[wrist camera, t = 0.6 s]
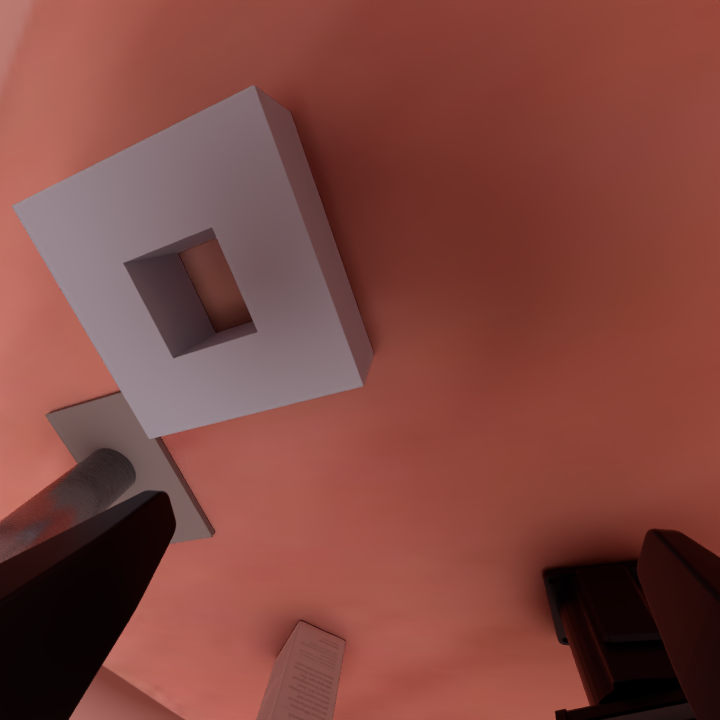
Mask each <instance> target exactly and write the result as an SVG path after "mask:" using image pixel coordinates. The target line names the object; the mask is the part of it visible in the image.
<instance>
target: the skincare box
mask: <svg viewBox="0 0 720 720" xmlns="http://www.w3.org/2000/svg"><path fill="white" fill-rule="evenodd" d="M344 650H345V641H344V640H343V639H341V638H338V637H336V636H334V635H331V634H329V633H327V632H325V631H322V630H320V629H318V628H316V627H314V626H312V625H310V624H307V623H305V622H302V621H299V622H298V624H297V626H296V627H295V629H294V630H293V632H292V634H291V635H290V637H289V639H288V640H287V642H286V644H285V645H284V647H283V648H282V650H281V652H280V653H279V655H278V657H277V658H276V660H275V662H274V665H273V669H272V672H271V675H270V678H269V681H268V684H267V688H266V691H265V694H264V697H263V700H262V703H261V707H260V710H259V713H258V716H257V719H256V720H333V716H334V710H335V704H336V698H337V692H338V686H339V680H340V674H341V668H342V662H343V656H344Z"/></svg>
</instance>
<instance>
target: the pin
mask: <svg viewBox="0 0 720 720" xmlns="http://www.w3.org/2000/svg"><path fill="white" fill-rule="evenodd" d="M135 480H136V472H135V469H134V467H133V465H132V463H131V462H130V461H129V460H128V459H127V458H126V457H125V456H124V455H123V454H121V453H119V452H118V451H115V450H112V449H108V448H102V449H98V450H96V451H94V452H93V453H92V454H90V455H89V456H88V457H86V458H85V459H84V460H82V461H81V462H80V463H78V464H77V465H76V466H74V467H73V468H71V469H70V470H69V471H67V472H66V473H65V474H63V475H62V476H61V477H59V478H58V479H57V480H55V481H54V482H53V483H51V484H50V485H49V486H47V487H46V488H44V489H43V490H42V491H40V492H39V493H38V494H36V495H35V496H34V497H32V498H31V499H30V500H28V501H27V502H26V503H24V504H23V505H21V506H20V507H19V508H17V509H16V510H15V511H13V512H12V513H11V514H9V515H8V516H7V517H5V518H4V519H3V520H1V521H0V563H1V562H3V561H5V560H7V559H9V558H11V557H13V556H15V555H17V554H19V553H21V552H23V551H25V550H27V549H29V548H31V547H33V546H35V545H37V544H39V543H41V542H43V541H45V540H47V539H49V538H51V537H53V536H55V535H57V534H59V533H61V532H63V531H65V530H67V529H69V528H71V527H73V526H75V525H77V524H79V523H81V522H83V521H85V520H87V519H89V518H91V517H93V516H95V515H97V514H99V513H101V512H103V511H105V510H107V509H108V508H109V507H110V506H111V505H112V504H113V503H114V502H115V501H116V500H117V499H118V498H120V497H121V496H122V495H123V494H124V493H125V492H126V491H127V490H128V489H129V488H130V487H131V486H132V485H133V484H134V482H135Z"/></svg>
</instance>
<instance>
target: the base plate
mask: <svg viewBox="0 0 720 720" xmlns="http://www.w3.org/2000/svg"><path fill="white" fill-rule="evenodd" d="M45 416H46V417H47V419H48V420H49V422H50V423H51V425H52V426H53V427H54V429H55V430H56V432H57V433H58V435H59V436H60V438H61V439H62V441H63V442H64V444H65V445H66V447H67V448H68V450H69V451H70V453H71V454H72V456H73V457H74V459H75V460H76V462H77V463H80V462H81V461H82V460H84V459H85V458H86V457H88V456H89V455H90V454H92V453H93V452H94V451H96V450H98V449H102V448H108V449H112V450H115V451H118V452H119V453H121V454H123V455H124V456H125V457H126V458H127V459H128V460H129V461H130V462H131V463H132V465H133V467H134V469H135V472H136V480H135V482H134V484H133V485H132V486H131V487H130V488H129V489H128V490H127V491H126V492H125V493H124V494H123V495H122V496H121V497H120V498H118V499H117V500H116V501H115V502H114V503H113V504H112V505H111V506H110V507H109V508H111V507H113V506H115V505H117V504H119V503H121V502H123V501H125V500H127V499H129V498H131V497H133V496H135V495H137V494H139V493H141V492H143V491H145V490H159V491H165V492H166V493H167V494H168V495H169V497H170V501H171V504H172V508H173V511H174V515H175V519H176V530H175V533H174V535H173V537H172V539H171V541H170V543H169V544H171V543H177V542H184V541H190V540H196V539H203V538H209V537H213V535H214V534H215V532H214V530H213V528H212V526H211V525H210V523H209V521H208V519H207V518H206V516H205V514H204V513H203V511H202V509H201V507H200V506H199V504H198V502H197V500H196V499H195V497H194V495H193V494H192V492H191V490H190V488H189V487H188V485H187V483H186V481H185V480H184V478H183V476H182V475H181V473H180V471H179V469H178V468H177V466H176V464H175V462H174V461H173V459H172V457H171V456H170V454H169V452H168V450H167V449H166V447H165V445H164V443H163V442H162V440H161V438H160V437H156V438H152V439H149V438H148V436H147V434H146V433H145V431H144V429H143V428H142V426H141V424H140V423H139V421H138V419H137V418H136V416H135V414H134V412H133V411H132V409H131V407H130V406H129V404H128V402H127V401H126V399H125V397H124V396H123V394H122V392H121V391H120V392H117V393H114V394H110V395H107V396H103V397H100V398H97V399H93V400H90V401H86V402H83V403H80V404H76V405H73V406H70V407H66V408H63V409H59V410H56V411H53V412H50V413H48V414H46V415H45ZM109 508H108V509H109Z"/></svg>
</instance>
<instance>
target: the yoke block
mask: <svg viewBox="0 0 720 720" xmlns="http://www.w3.org/2000/svg"><path fill="white" fill-rule="evenodd" d="M12 207H13V209H14V211H15V212H16V214H17V216H18V218H19V219H20V221H21V223H22V224H23V226H24V228H25V229H26V231H27V233H28V234H29V236H30V238H31V240H32V241H33V243H34V245H35V246H36V248H37V250H38V251H39V253H40V255H41V257H42V258H43V260H44V262H45V263H46V265H47V267H48V268H49V270H50V272H51V273H52V275H53V277H54V279H55V280H56V282H57V284H58V285H59V287H60V289H61V290H62V292H63V294H64V296H65V297H66V299H67V301H68V302H69V304H70V306H71V307H72V309H73V311H74V312H75V314H76V316H77V318H78V319H79V321H80V323H81V324H82V326H83V328H84V329H85V331H86V333H87V334H88V336H89V338H90V340H91V341H92V343H93V345H94V346H95V348H96V350H97V351H98V353H99V355H100V357H101V358H102V360H103V362H104V363H105V365H106V367H107V368H108V370H109V372H110V373H111V375H112V377H113V379H114V380H115V382H116V384H117V385H118V387H119V389H120V390H121V392H122V394H123V396H124V397H125V399H126V401H127V402H128V404H129V406H130V407H131V409H132V411H133V412H134V414H135V416H136V418H137V419H138V421H139V423H140V424H141V426H142V428H143V429H144V431H145V433H146V434H147V436H148V438H149V439H152V438H156V437H161V436H165V435H169V434H173V433H177V432H181V431H185V430H189V429H193V428H197V427H201V426H205V425H209V424H213V423H217V422H221V421H225V420H229V419H233V418H237V417H241V416H245V415H250V414H254V413H258V412H262V411H266V410H270V409H274V408H278V407H282V406H286V405H290V404H294V403H298V402H302V401H306V400H310V399H314V398H318V397H322V396H326V395H330V394H334V393H339V392H343V391H347V390H351V389H355V388H359V387H363V386H364V384H365V381H366V377H367V374H368V371H369V368H370V365H371V362H372V359H373V356H374V353H373V350H372V347H371V344H370V341H369V339H368V336H367V333H366V330H365V327H364V324H363V321H362V318H361V315H360V312H359V310H358V307H357V304H356V301H355V298H354V295H353V292H352V289H351V286H350V283H349V280H348V278H347V275H346V272H345V269H344V266H343V263H342V260H341V257H340V254H339V251H338V248H337V246H336V243H335V240H334V237H333V234H332V231H331V228H330V225H329V222H328V219H327V216H326V214H325V211H324V208H323V205H322V202H321V199H320V196H319V193H318V190H317V187H316V184H315V182H314V179H313V176H312V173H311V170H310V167H309V164H308V161H307V158H306V155H305V152H304V150H303V147H302V144H301V141H300V138H299V135H298V132H297V129H296V126H295V123H294V121H293V118H292V115H291V112H290V111H289V110H287V109H286V108H285V107H283V106H282V105H281V104H279V103H278V102H277V101H275V100H274V99H273V98H271V97H270V96H269V95H267V94H266V93H265V92H263V91H262V90H260V89H259V88H258V87H256V86H255V85H252V86H250V87H248V88H246V89H244V90H242V91H240V92H238V93H236V94H234V95H232V96H230V97H228V98H226V99H224V100H222V101H220V102H218V103H216V104H214V105H212V106H210V107H208V108H206V109H204V110H202V111H200V112H198V113H196V114H194V115H192V116H190V117H188V118H186V119H184V120H182V121H180V122H178V123H176V124H174V125H172V126H170V127H168V128H166V129H164V130H162V131H160V132H158V133H156V134H154V135H152V136H150V137H148V138H146V139H144V140H142V141H140V142H138V143H136V144H134V145H132V146H130V147H128V148H126V149H124V150H122V151H120V152H118V153H116V154H114V155H112V156H110V157H108V158H106V159H104V160H102V161H100V162H98V163H96V164H94V165H92V166H90V167H88V168H86V169H84V170H82V171H80V172H78V173H76V174H74V175H72V176H70V177H68V178H66V179H64V180H62V181H60V182H58V183H56V184H54V185H52V186H50V187H48V188H46V189H44V190H42V191H40V192H38V193H36V194H34V195H32V196H30V197H28V198H26V199H24V200H22V201H20V202H18V203H17V204H15V205H13V206H12ZM215 238H217V240H218V242H219V245H220V247H221V249H222V251H223V254H224V256H225V258H226V260H227V263H228V265H229V267H230V270H231V272H232V274H233V276H234V279H235V281H236V283H237V286H238V288H239V290H240V292H241V295H242V297H243V299H244V301H245V304H246V306H247V308H248V311H249V313H250V315H251V317H252V320H253V321H251V322H248V323H245V324H242V325H239V326H236V327H232V328H229V329H226V330H223V331H220V332H217V333H216V332H215V330H214V328H213V326H212V324H211V322H210V320H209V318H208V316H207V313H206V311H205V309H204V307H203V305H202V303H201V301H200V299H199V297H198V295H197V292H196V290H195V288H194V286H193V284H192V282H191V280H190V278H189V276H188V274H187V271H186V269H185V267H184V265H183V263H182V261H181V259H180V257H179V255H178V253H180V252H182V251H185V250H187V249H190V248H192V247H195V246H197V245H200V244H202V243H205V242H208V241H210V240H213V239H215Z"/></svg>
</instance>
